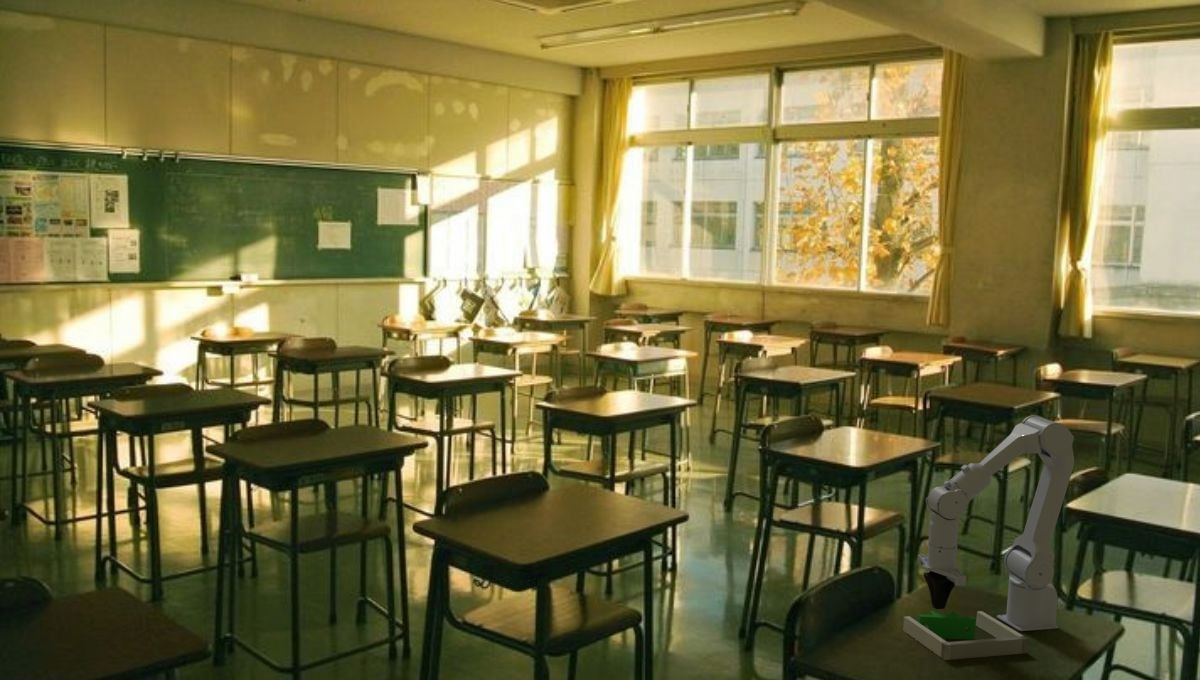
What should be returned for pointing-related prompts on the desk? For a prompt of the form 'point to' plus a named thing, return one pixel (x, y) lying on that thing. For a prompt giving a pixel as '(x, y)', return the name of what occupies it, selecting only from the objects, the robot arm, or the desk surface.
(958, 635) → the green flat block
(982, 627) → the docking bay
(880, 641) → the desk surface
